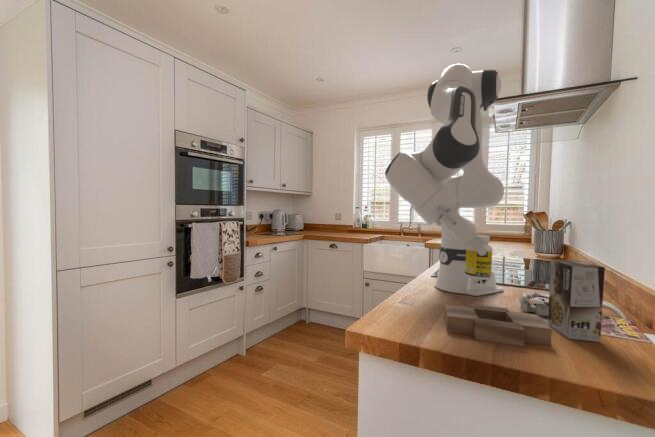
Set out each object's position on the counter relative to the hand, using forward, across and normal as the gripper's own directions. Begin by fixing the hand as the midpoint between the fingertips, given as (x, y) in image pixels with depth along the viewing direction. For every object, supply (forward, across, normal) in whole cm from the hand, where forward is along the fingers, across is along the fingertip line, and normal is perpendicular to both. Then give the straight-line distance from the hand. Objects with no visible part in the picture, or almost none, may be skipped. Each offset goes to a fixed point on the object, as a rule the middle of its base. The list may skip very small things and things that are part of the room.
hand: (482, 251), depth 70 cm
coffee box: (+27, +5, -1) cm, 28 cm away
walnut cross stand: (+15, 0, +11) cm, 18 cm away
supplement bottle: (+4, 0, +5) cm, 6 cm away
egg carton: (+26, +21, 0) cm, 34 cm away
